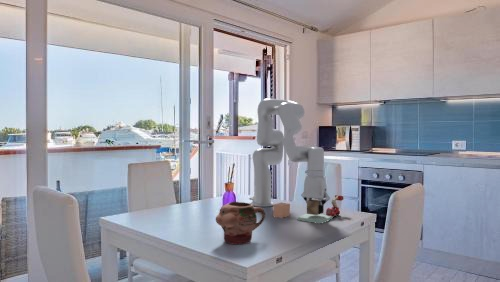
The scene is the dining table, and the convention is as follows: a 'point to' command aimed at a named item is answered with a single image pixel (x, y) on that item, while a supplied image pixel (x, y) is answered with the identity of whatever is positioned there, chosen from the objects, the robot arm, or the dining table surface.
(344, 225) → the dining table surface
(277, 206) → the terracotta brick
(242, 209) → the brown sculpted mug
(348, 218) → the dining table surface
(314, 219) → the board
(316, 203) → the walnut brick
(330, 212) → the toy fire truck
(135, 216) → the dining table surface
